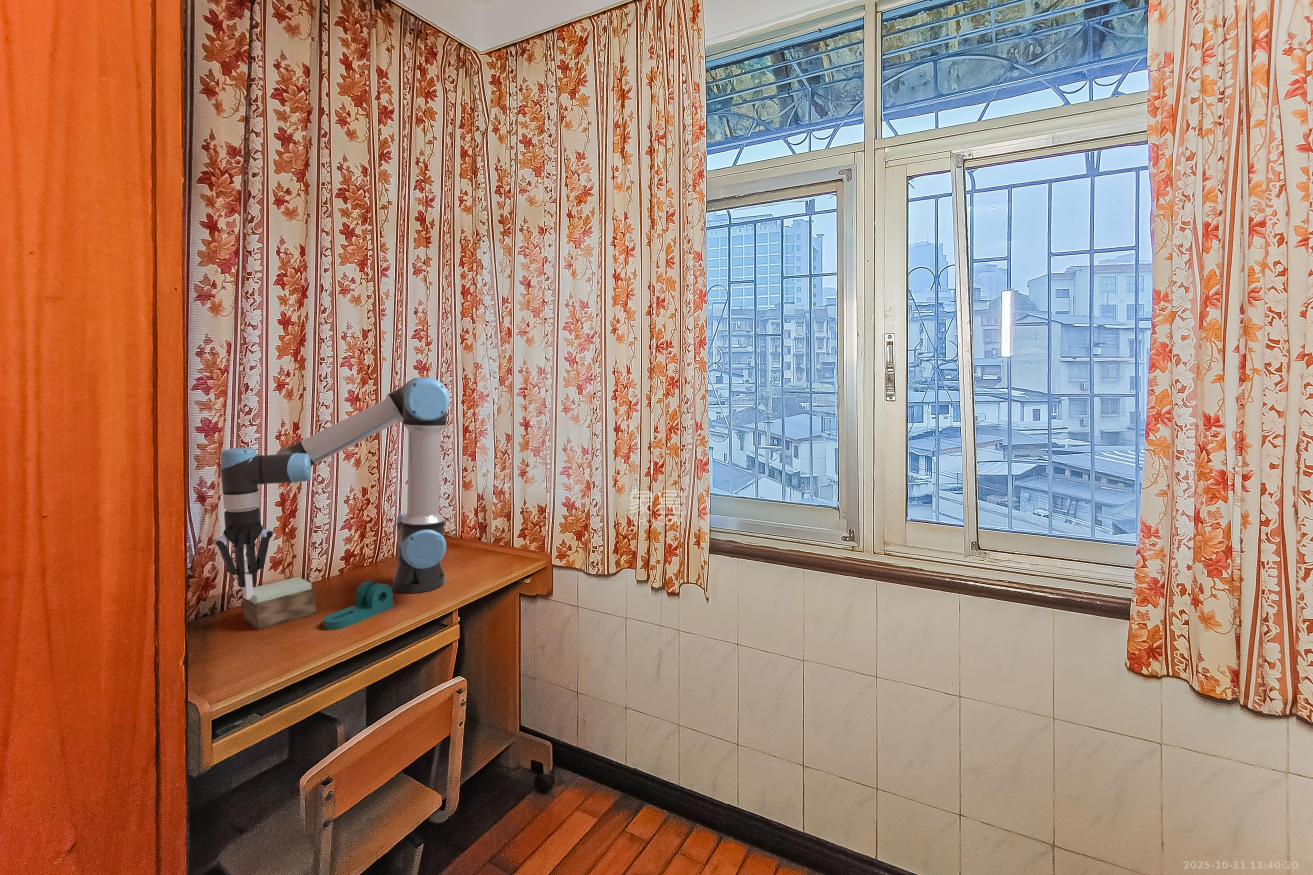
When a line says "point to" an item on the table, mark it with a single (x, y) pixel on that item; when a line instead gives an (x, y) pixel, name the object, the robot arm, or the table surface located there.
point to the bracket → (362, 605)
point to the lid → (279, 589)
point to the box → (279, 609)
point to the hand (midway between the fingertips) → (248, 597)
